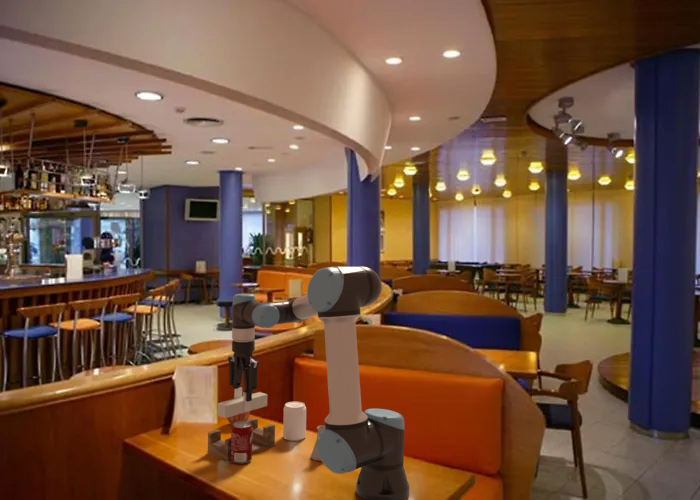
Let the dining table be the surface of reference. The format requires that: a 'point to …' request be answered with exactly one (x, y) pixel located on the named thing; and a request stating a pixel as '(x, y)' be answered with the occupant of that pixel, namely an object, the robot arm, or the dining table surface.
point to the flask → (315, 451)
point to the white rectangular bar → (241, 405)
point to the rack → (223, 448)
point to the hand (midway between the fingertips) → (242, 408)
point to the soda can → (241, 442)
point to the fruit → (238, 418)
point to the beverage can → (294, 421)
